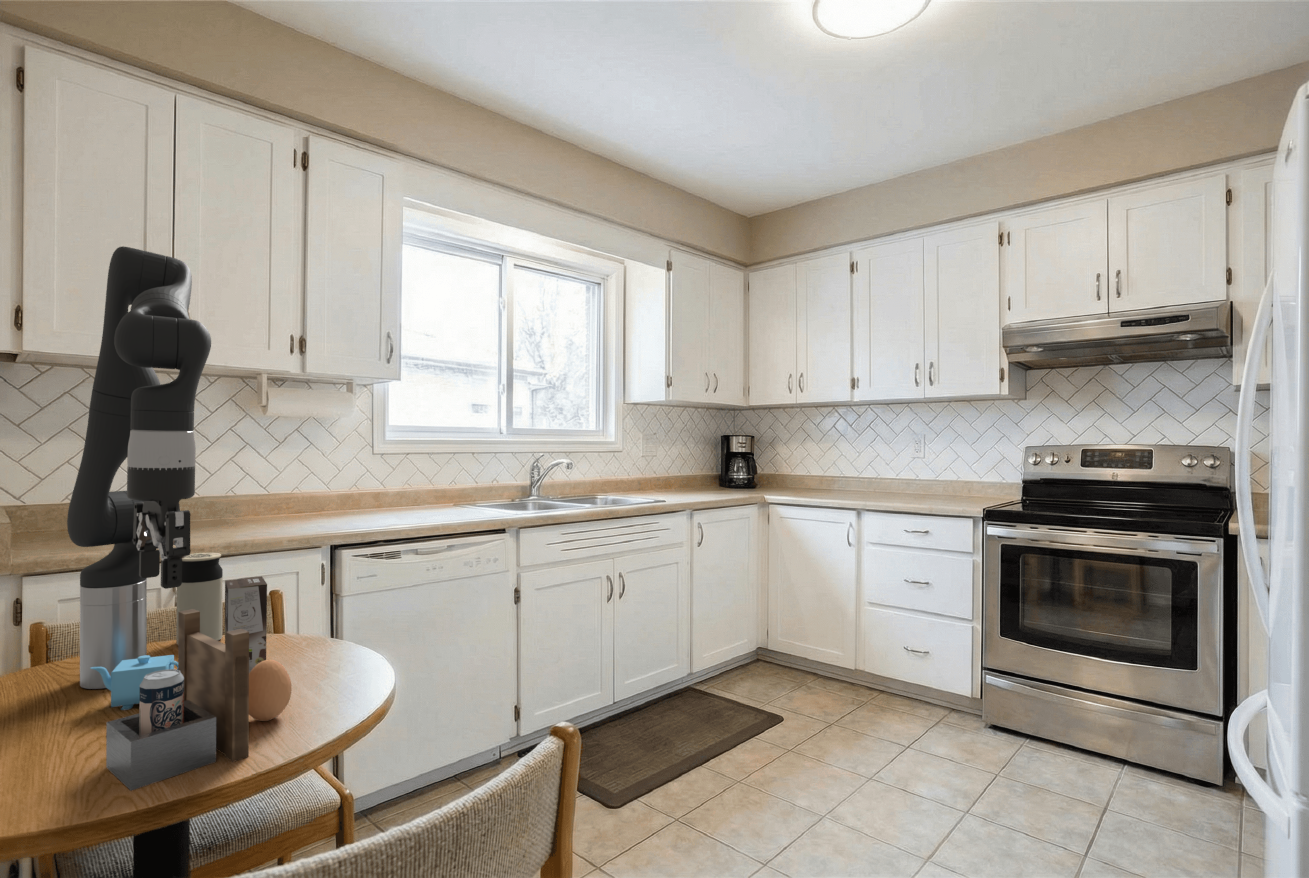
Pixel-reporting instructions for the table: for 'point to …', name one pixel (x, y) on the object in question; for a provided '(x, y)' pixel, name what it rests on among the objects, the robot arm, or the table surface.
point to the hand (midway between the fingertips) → (159, 582)
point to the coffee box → (248, 613)
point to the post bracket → (160, 747)
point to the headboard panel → (217, 680)
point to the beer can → (161, 701)
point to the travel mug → (202, 591)
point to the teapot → (132, 678)
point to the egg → (268, 690)
